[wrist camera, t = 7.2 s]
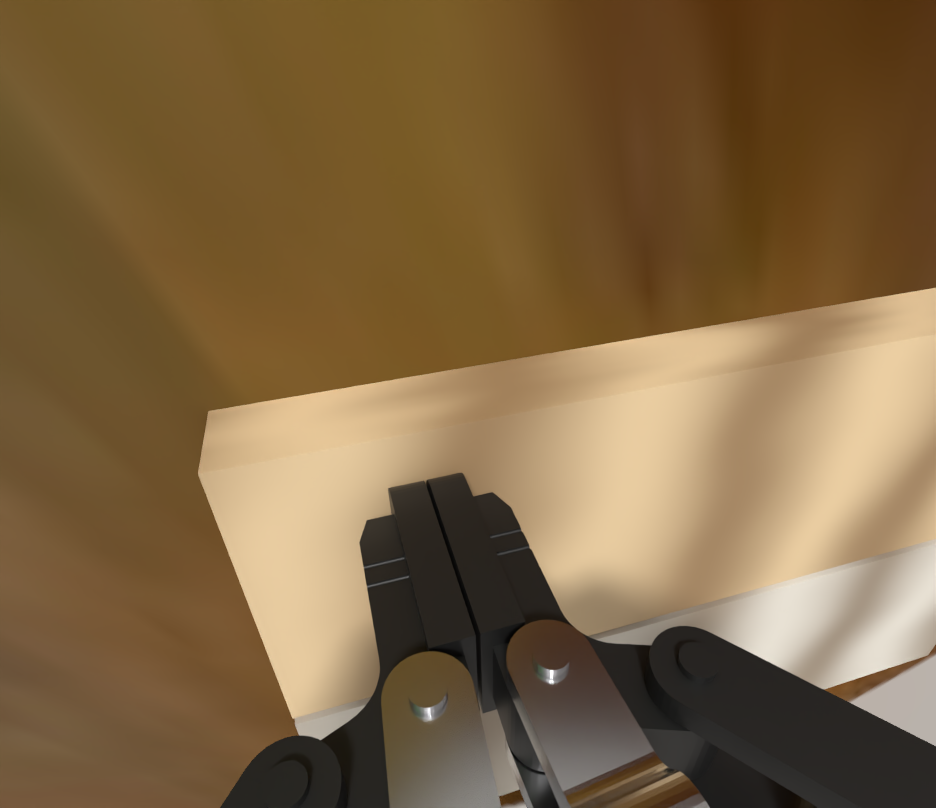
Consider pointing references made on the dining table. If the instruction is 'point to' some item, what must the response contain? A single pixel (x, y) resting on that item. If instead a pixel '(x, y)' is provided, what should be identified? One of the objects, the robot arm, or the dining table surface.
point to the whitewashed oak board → (776, 631)
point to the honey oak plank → (592, 473)
